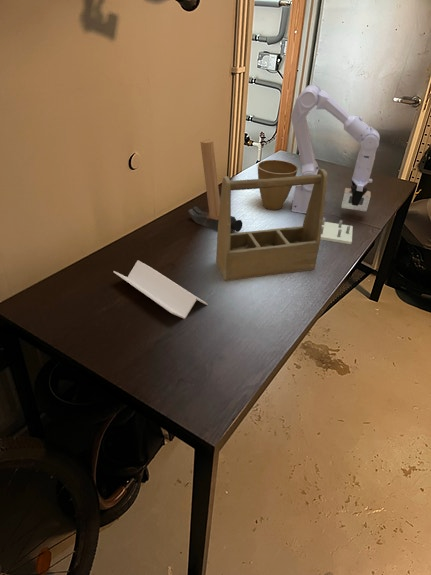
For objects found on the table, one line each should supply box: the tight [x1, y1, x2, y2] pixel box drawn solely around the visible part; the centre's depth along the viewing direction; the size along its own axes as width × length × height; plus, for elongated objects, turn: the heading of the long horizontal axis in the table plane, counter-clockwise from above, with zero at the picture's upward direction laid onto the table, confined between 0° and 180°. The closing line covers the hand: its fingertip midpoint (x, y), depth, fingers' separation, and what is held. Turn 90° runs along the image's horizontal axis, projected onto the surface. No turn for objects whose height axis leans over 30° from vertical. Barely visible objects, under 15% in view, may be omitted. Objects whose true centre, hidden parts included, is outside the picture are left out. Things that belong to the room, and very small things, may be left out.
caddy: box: [215, 168, 328, 282], centre depth 124 cm, size 29×11×30 cm, turn 105°
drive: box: [341, 187, 372, 212], centre depth 158 cm, size 9×5×6 cm, turn 74°
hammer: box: [187, 139, 243, 233], centre depth 146 cm, size 20×5×30 cm, turn 52°
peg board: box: [320, 217, 353, 245], centre depth 151 cm, size 15×12×4 cm
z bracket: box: [113, 260, 209, 320], centre depth 118 cm, size 12×25×6 cm
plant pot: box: [257, 159, 299, 211], centre depth 164 cm, size 15×15×16 cm
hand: (354, 202), depth 158 cm, fingers closed on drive, 5 cm apart
